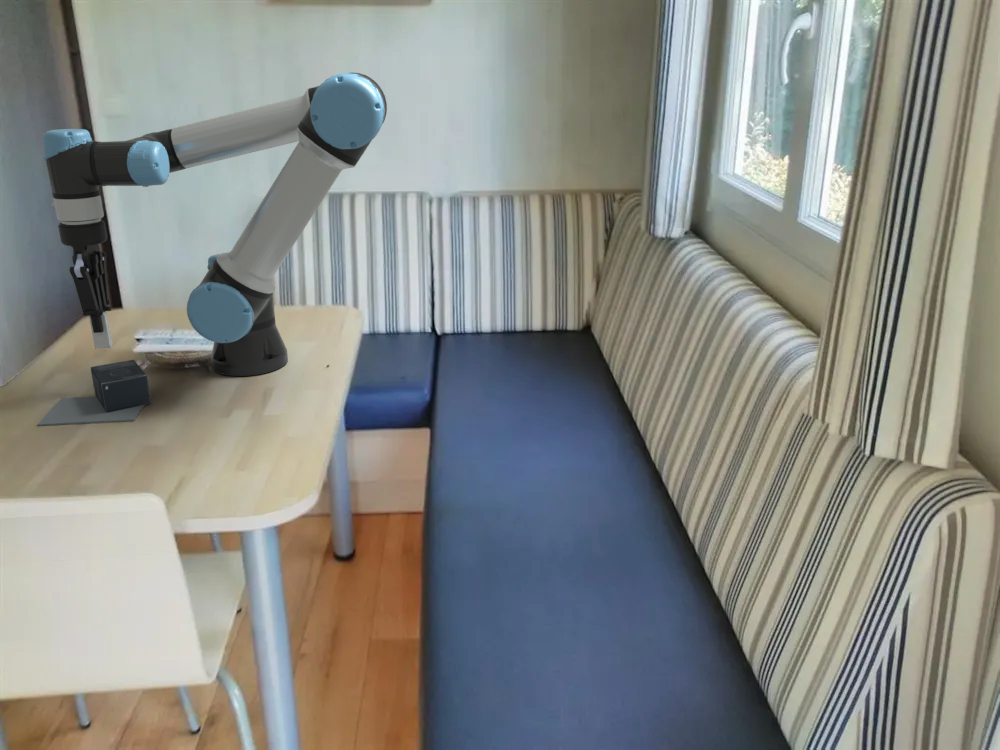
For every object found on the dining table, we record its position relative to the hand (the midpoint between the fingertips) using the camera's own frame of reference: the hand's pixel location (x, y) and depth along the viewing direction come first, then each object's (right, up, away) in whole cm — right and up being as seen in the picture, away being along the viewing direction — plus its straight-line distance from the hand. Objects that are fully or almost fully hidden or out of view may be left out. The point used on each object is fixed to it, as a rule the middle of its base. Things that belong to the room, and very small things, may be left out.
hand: (103, 346), depth 158 cm
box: (+1, -5, +2) cm, 6 cm away
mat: (+1, -11, -5) cm, 13 cm away
